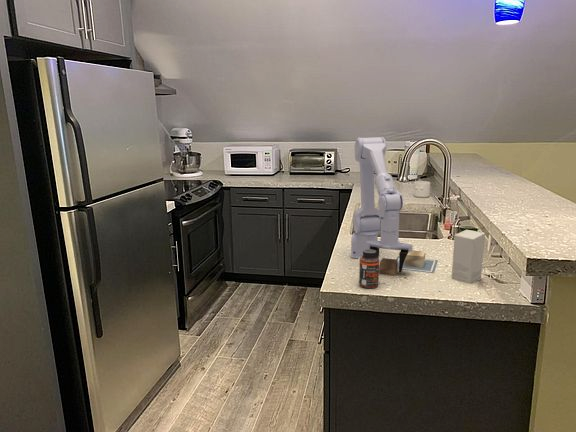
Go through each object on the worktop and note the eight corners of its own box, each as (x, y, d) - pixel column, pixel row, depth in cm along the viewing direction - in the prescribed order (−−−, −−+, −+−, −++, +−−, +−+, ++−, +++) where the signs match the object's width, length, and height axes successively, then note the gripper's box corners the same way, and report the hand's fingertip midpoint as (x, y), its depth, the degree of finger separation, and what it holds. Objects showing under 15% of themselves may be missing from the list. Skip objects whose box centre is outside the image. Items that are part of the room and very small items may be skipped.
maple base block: (404, 265, 153) (405, 254, 152) (407, 260, 159) (407, 249, 158) (422, 267, 151) (423, 256, 150) (424, 262, 156) (425, 251, 155)
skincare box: (462, 275, 146) (466, 228, 143) (483, 280, 142) (486, 232, 138) (450, 281, 141) (453, 234, 137) (470, 287, 136) (474, 238, 133)
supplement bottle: (365, 290, 136) (366, 254, 133) (355, 283, 141) (355, 249, 139) (382, 287, 138) (383, 252, 136) (371, 280, 143) (372, 246, 141)
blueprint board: (390, 271, 152) (390, 268, 151) (397, 258, 164) (397, 255, 164) (433, 276, 146) (434, 272, 146) (437, 262, 159) (437, 259, 158)
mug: (407, 197, 280) (407, 182, 278) (413, 194, 288) (414, 180, 286) (425, 198, 273) (426, 184, 271) (431, 196, 281) (432, 181, 279)
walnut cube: (379, 277, 147) (379, 262, 146) (382, 272, 151) (382, 258, 150) (394, 278, 145) (395, 264, 144) (397, 273, 149) (397, 259, 148)
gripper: (364, 231, 144) (364, 271, 147) (410, 235, 138) (409, 276, 141) (369, 226, 150) (368, 264, 153) (414, 229, 144) (412, 269, 147)
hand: (388, 270), depth 148 cm, fingers open, 7 cm apart
